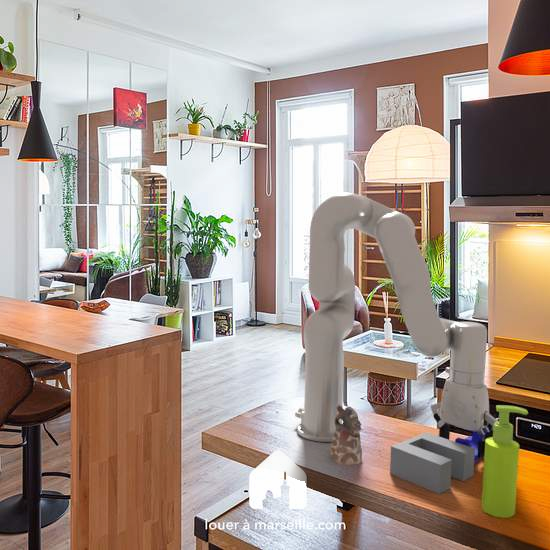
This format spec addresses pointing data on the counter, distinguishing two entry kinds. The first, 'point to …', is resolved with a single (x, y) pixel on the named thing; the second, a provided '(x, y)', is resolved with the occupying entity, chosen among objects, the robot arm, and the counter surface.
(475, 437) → the cable clip
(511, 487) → the soap dispenser
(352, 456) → the figurine
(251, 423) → the counter surface
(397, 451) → the slotted block
